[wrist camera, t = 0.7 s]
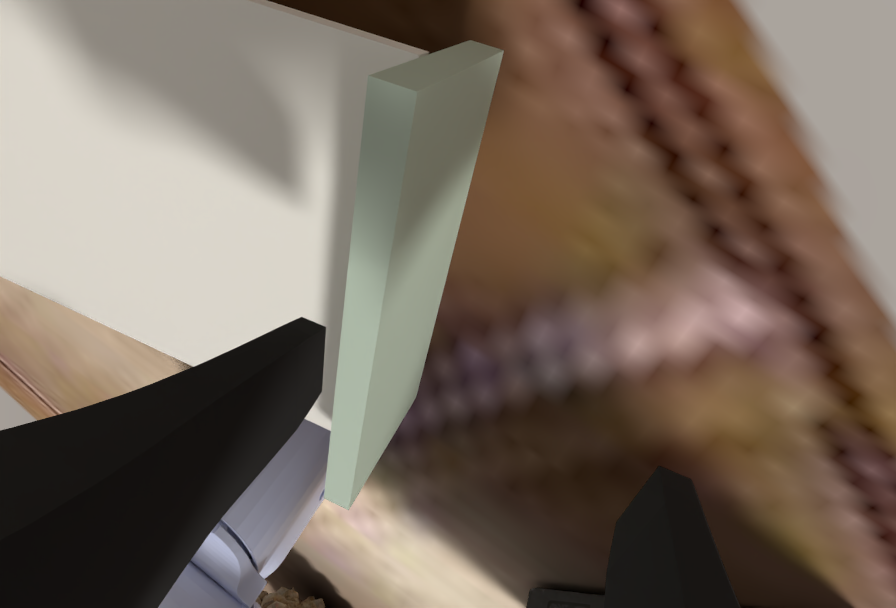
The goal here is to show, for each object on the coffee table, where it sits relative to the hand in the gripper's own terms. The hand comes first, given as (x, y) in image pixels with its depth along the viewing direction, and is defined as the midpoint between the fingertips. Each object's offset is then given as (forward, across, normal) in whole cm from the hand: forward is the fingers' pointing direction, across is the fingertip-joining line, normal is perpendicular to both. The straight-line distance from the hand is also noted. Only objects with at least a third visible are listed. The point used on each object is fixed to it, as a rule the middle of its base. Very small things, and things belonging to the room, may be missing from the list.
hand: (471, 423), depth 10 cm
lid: (+8, +13, +2) cm, 15 cm away
